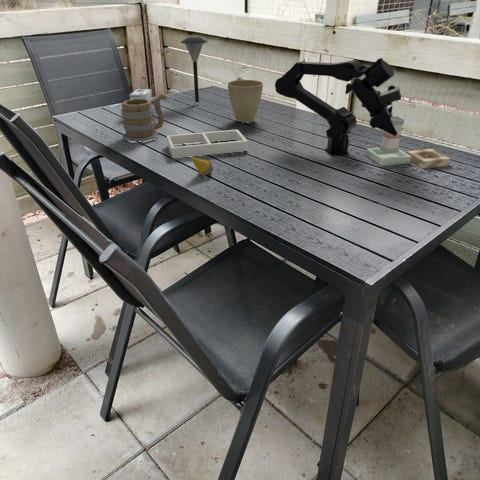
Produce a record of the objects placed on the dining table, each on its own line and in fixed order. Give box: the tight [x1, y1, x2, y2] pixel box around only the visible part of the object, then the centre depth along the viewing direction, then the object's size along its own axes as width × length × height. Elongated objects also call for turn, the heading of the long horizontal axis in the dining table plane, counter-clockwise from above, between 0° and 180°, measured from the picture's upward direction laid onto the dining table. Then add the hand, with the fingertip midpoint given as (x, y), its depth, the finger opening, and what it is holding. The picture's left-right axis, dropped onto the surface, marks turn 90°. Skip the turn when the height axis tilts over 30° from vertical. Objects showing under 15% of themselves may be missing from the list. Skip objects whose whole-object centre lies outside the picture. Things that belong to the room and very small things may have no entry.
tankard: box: [120, 93, 168, 142], centre depth 170 cm, size 20×13×15 cm, turn 131°
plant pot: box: [227, 79, 264, 124], centre depth 186 cm, size 15×15×16 cm
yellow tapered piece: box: [189, 157, 214, 177], centre depth 138 cm, size 5×5×10 cm
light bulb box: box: [128, 88, 154, 107], centre depth 196 cm, size 11×7×11 cm, turn 172°
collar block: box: [406, 148, 451, 170], centre depth 148 cm, size 10×10×2 cm
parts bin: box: [166, 129, 249, 159], centre depth 160 cm, size 27×14×4 cm, turn 105°
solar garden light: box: [180, 36, 208, 103], centre depth 207 cm, size 12×12×30 cm
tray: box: [365, 147, 412, 168], centre depth 150 cm, size 11×11×2 cm
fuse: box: [379, 115, 405, 154], centre depth 146 cm, size 4×4×11 cm
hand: (396, 132), depth 145 cm, fingers closed on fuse, 5 cm apart
